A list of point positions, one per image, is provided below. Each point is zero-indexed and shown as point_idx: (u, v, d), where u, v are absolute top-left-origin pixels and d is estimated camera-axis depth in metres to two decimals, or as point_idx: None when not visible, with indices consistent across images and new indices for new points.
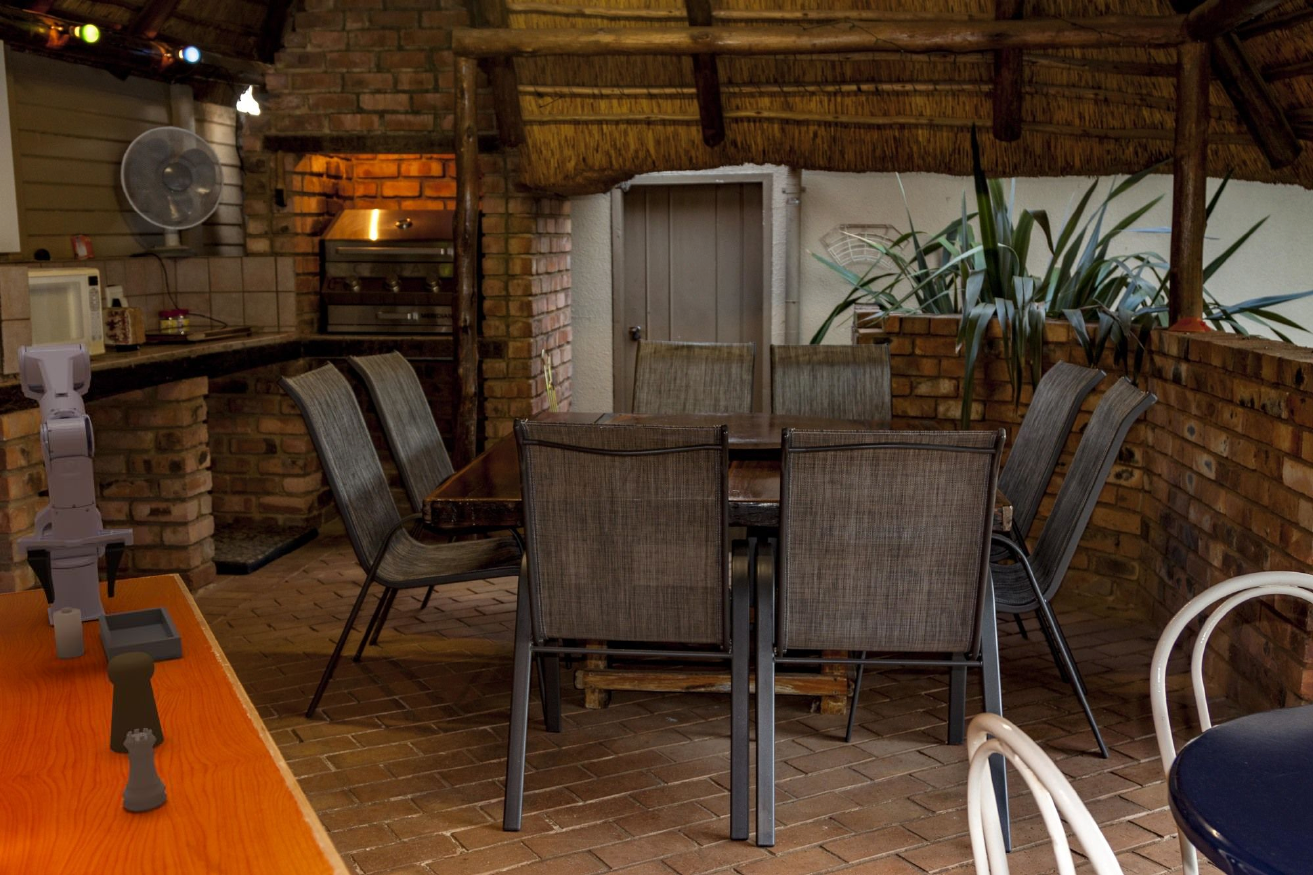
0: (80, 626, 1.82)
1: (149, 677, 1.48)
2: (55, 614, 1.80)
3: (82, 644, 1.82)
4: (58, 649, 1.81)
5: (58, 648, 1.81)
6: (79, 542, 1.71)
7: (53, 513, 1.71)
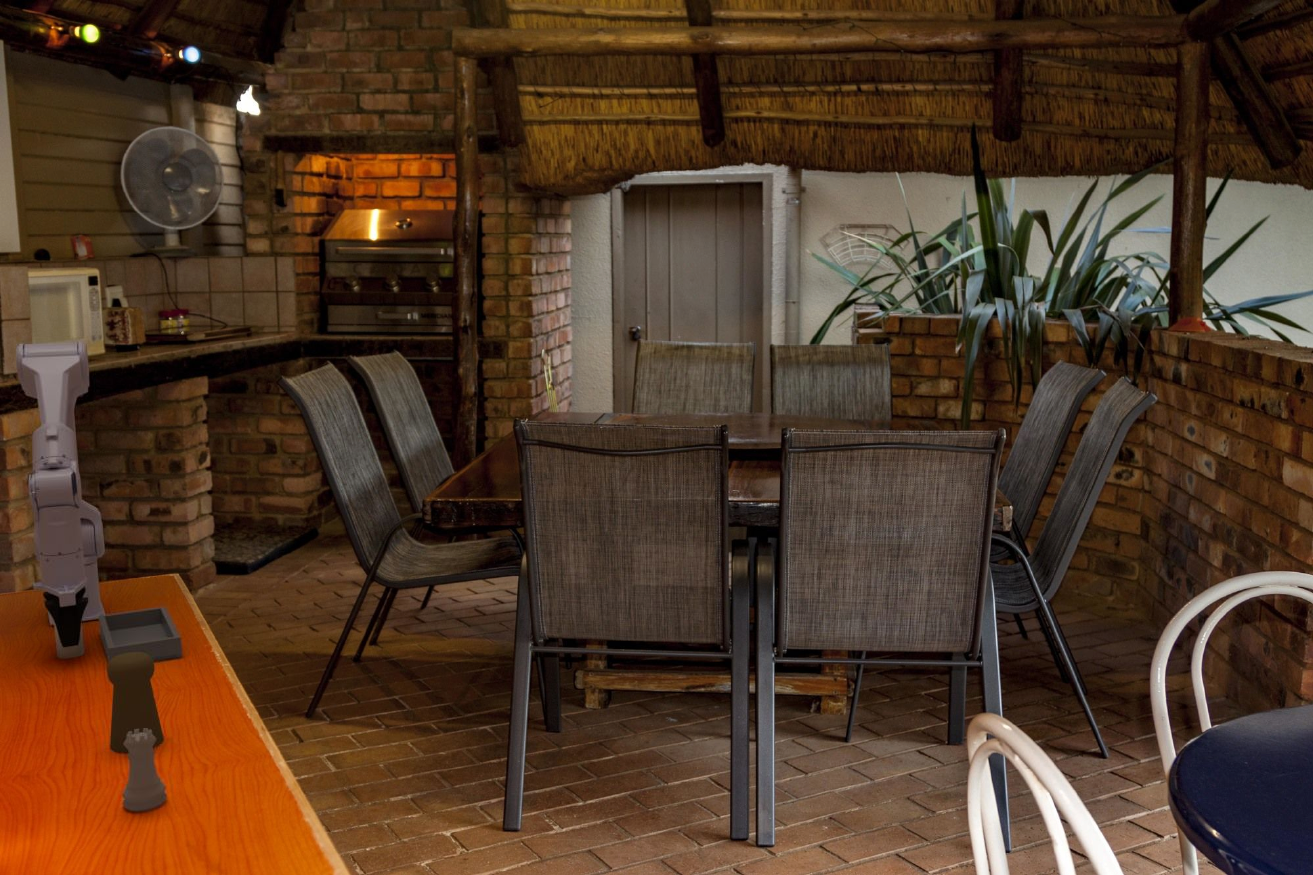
0: None
1: (149, 677, 1.48)
2: None
3: (82, 644, 1.82)
4: (58, 649, 1.81)
5: (58, 648, 1.81)
6: (34, 587, 1.78)
7: None
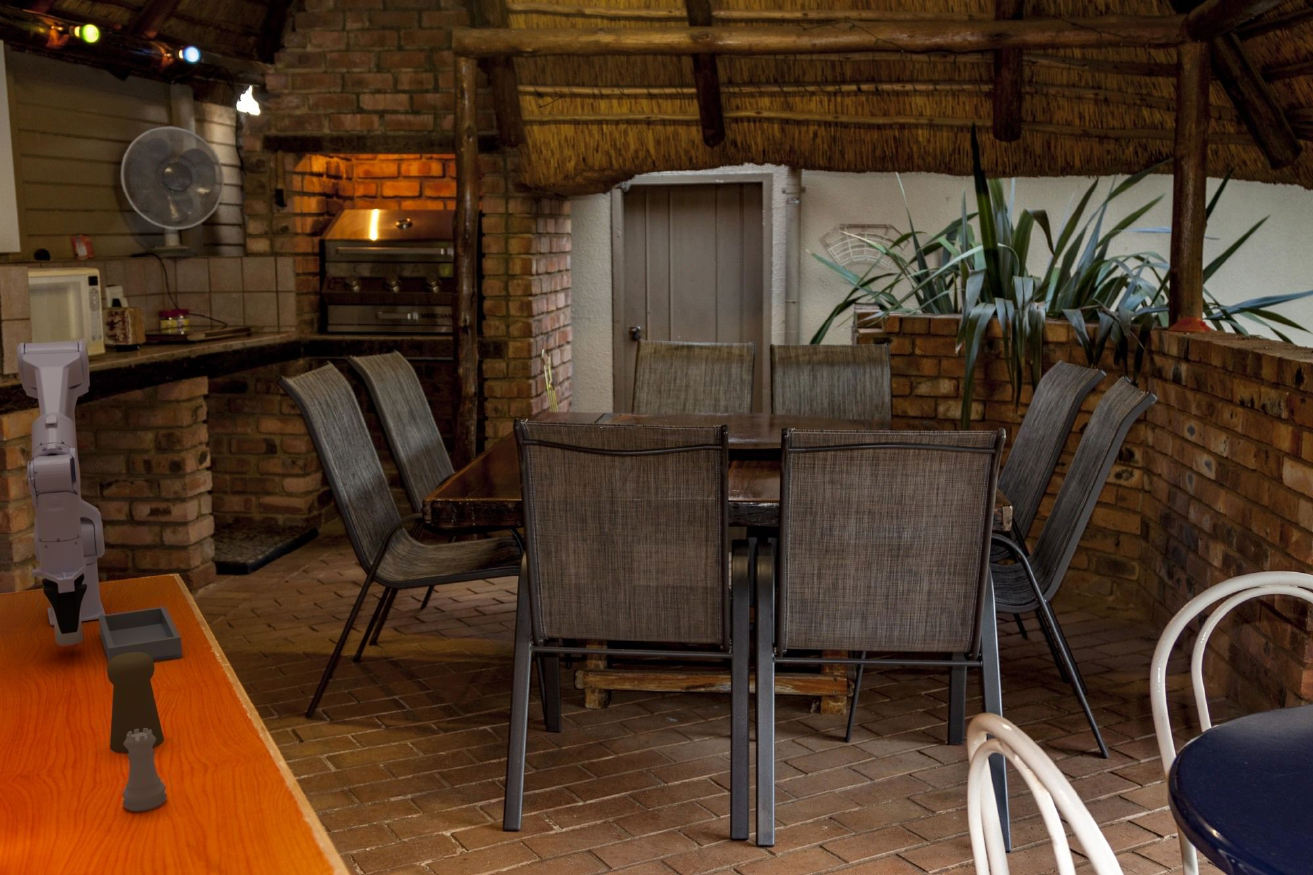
0: None
1: (149, 677, 1.48)
2: None
3: (81, 631, 1.82)
4: (57, 635, 1.80)
5: (57, 635, 1.80)
6: (32, 573, 1.78)
7: None
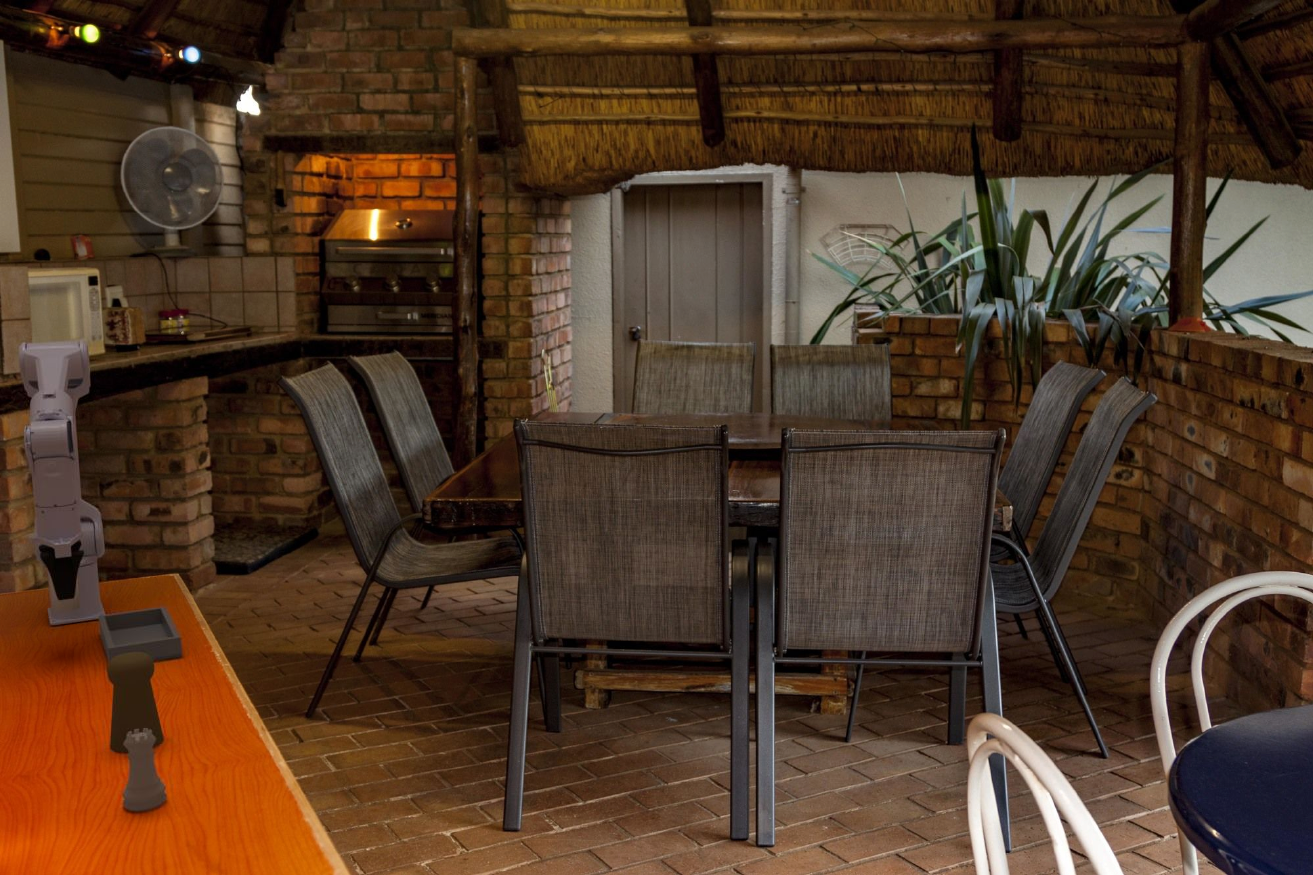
0: None
1: (149, 677, 1.48)
2: None
3: (78, 598, 1.81)
4: (54, 602, 1.80)
5: (54, 601, 1.80)
6: (29, 539, 1.77)
7: None
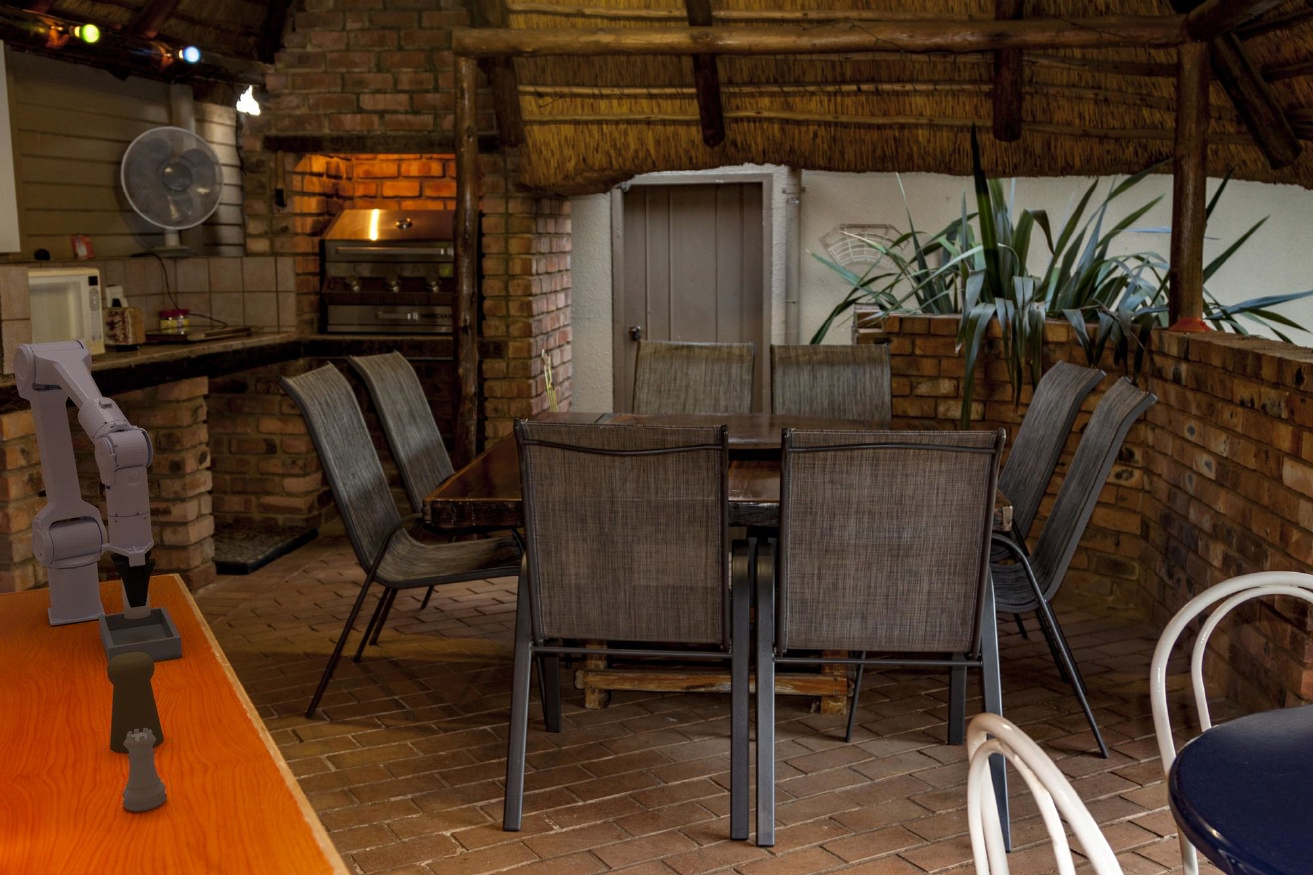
0: None
1: (149, 677, 1.48)
2: None
3: (149, 605, 1.85)
4: (126, 609, 1.83)
5: (125, 609, 1.83)
6: (102, 548, 1.81)
7: None
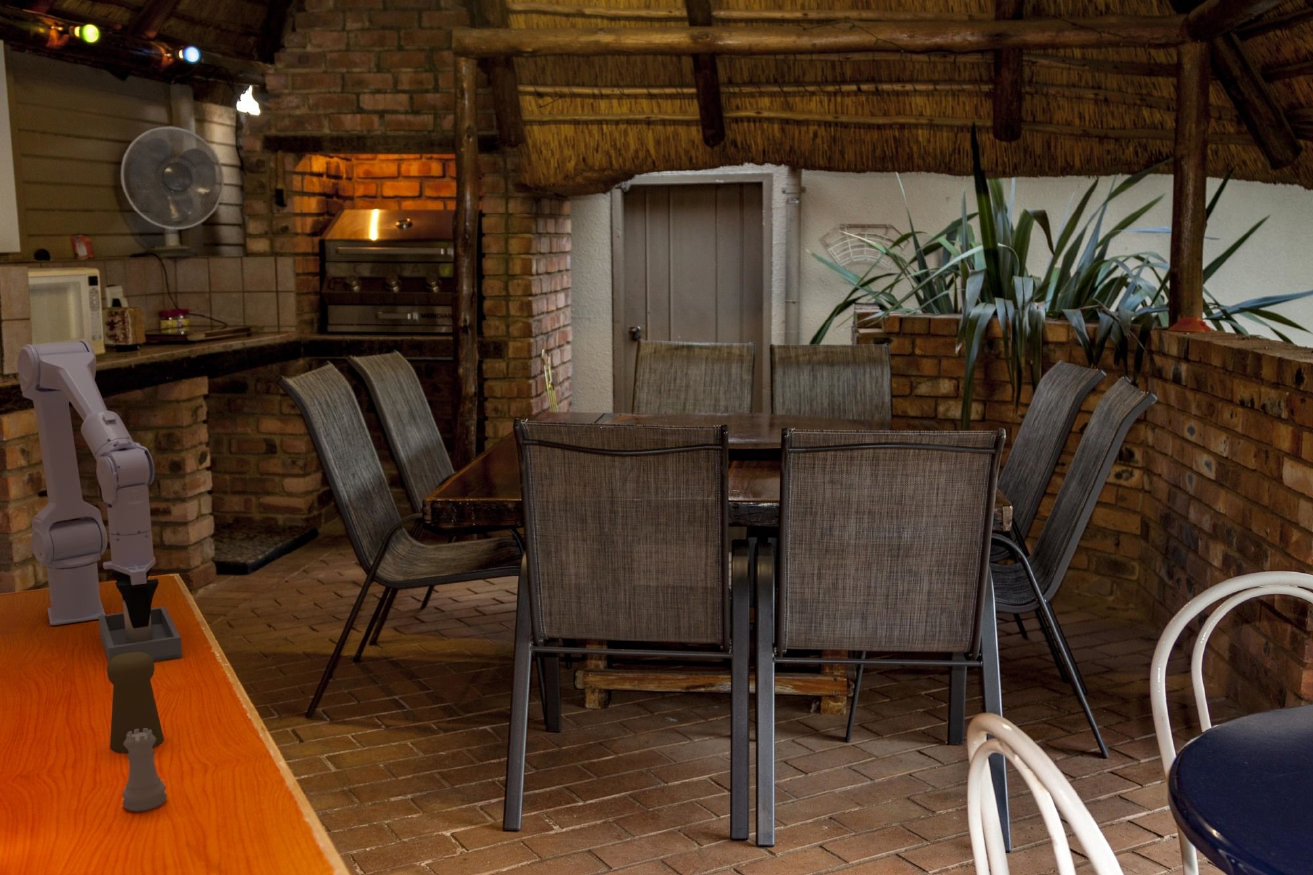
0: None
1: (149, 677, 1.48)
2: None
3: (151, 631, 1.86)
4: (128, 636, 1.84)
5: (128, 635, 1.84)
6: (104, 566, 1.81)
7: None
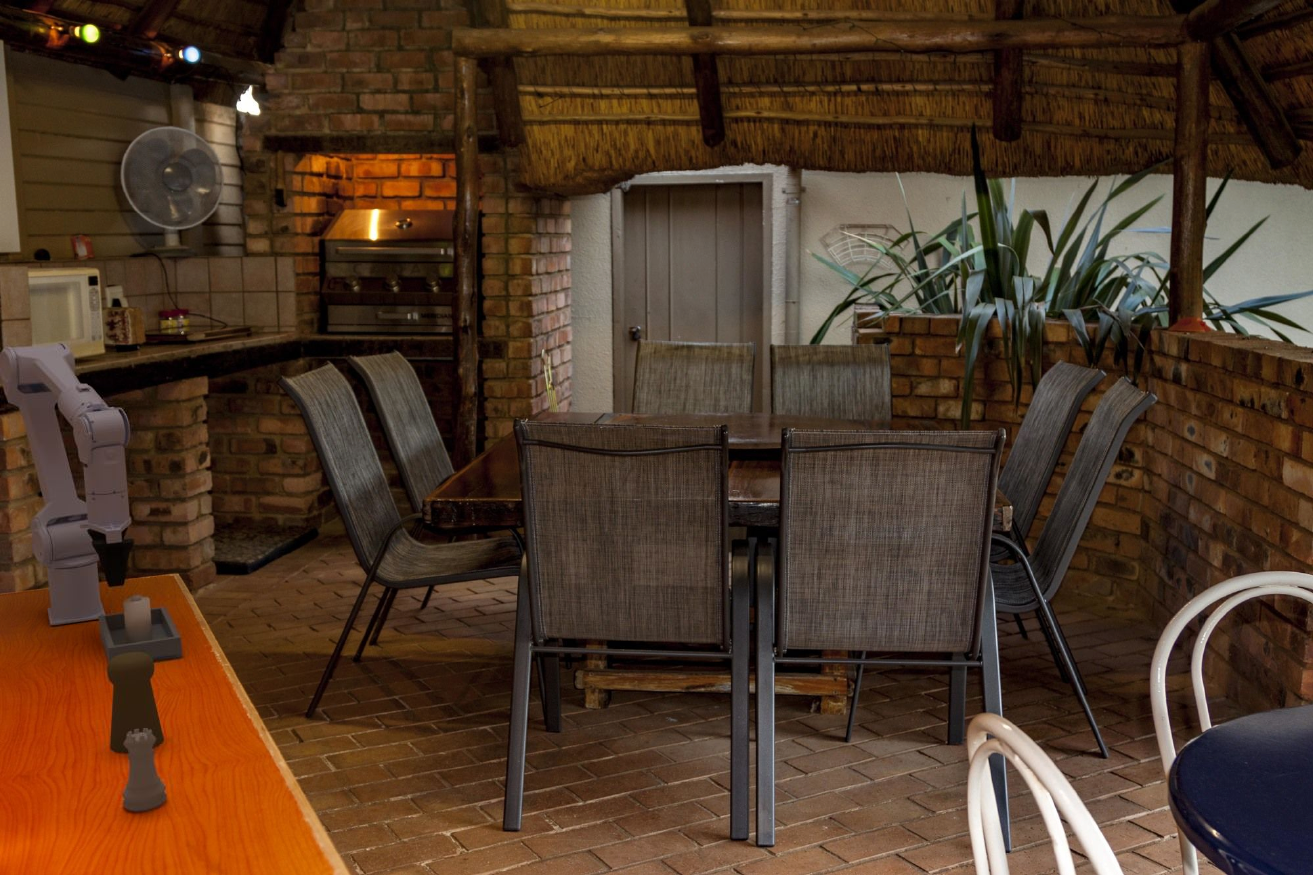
0: (149, 614, 1.85)
1: (149, 677, 1.48)
2: (125, 602, 1.84)
3: (151, 631, 1.86)
4: (128, 636, 1.84)
5: (128, 635, 1.84)
6: (80, 525, 1.84)
7: None
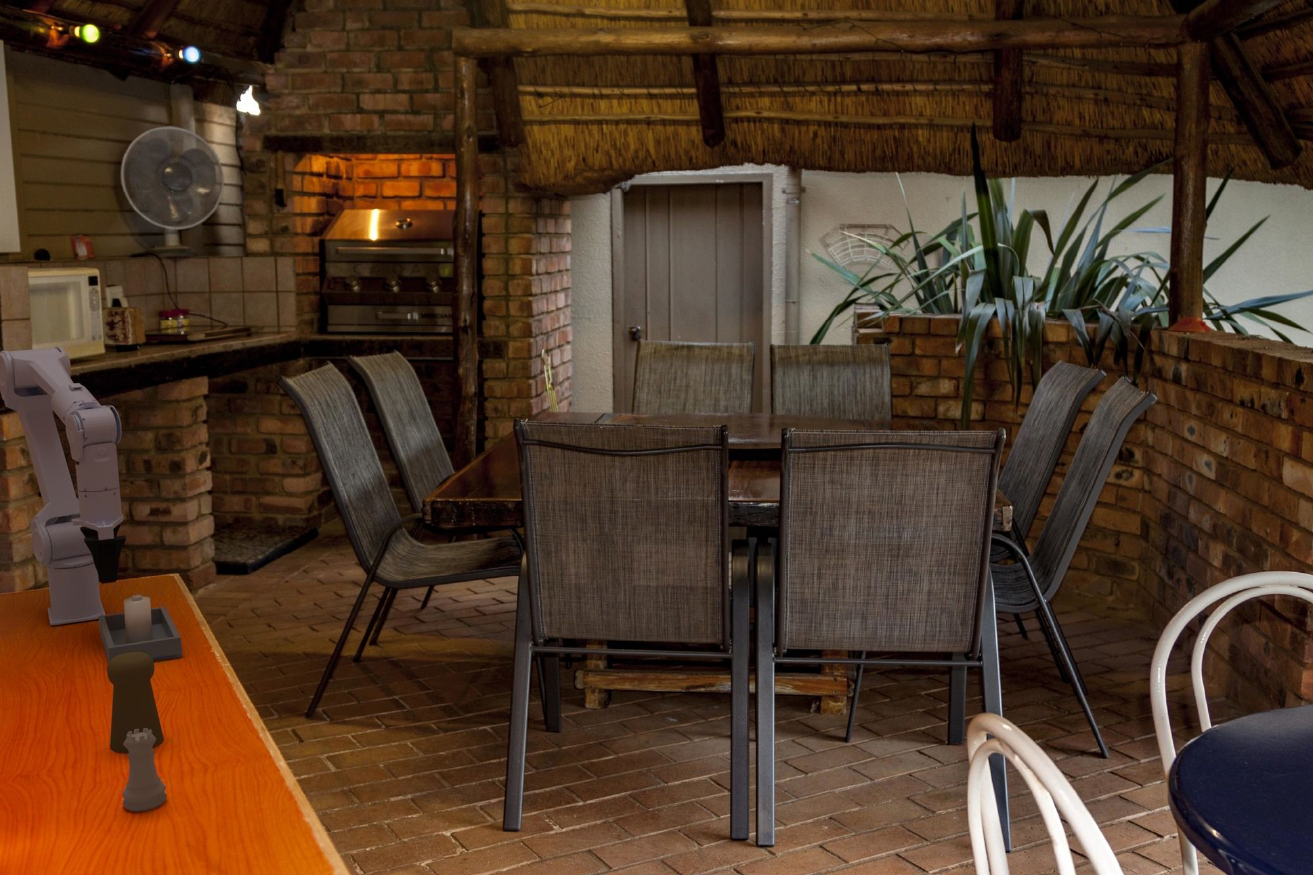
0: (149, 614, 1.85)
1: (149, 677, 1.48)
2: (126, 601, 1.84)
3: (151, 631, 1.86)
4: (128, 635, 1.84)
5: (128, 635, 1.84)
6: (73, 522, 1.85)
7: None
